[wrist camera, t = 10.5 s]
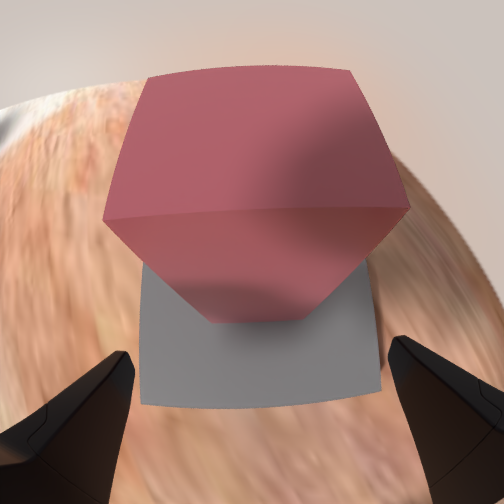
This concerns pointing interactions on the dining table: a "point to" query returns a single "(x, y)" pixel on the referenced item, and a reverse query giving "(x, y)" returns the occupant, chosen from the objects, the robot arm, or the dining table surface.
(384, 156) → the red rectangular block
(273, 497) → the dining table surface
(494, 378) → the dining table surface
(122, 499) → the dining table surface
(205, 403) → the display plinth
